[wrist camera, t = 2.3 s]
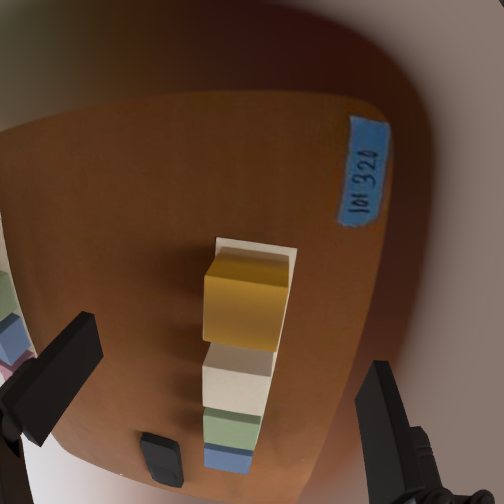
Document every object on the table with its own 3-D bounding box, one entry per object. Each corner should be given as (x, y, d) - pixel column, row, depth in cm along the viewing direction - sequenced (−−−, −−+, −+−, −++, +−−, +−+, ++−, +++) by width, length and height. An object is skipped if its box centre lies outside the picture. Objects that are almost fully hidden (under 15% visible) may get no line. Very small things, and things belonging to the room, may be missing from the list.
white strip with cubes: (216, 236, 19) (196, 265, 15) (297, 248, 19) (298, 280, 15) (209, 435, 28) (200, 467, 24) (256, 443, 28) (251, 476, 24)
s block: (221, 245, 19) (204, 275, 15) (289, 255, 19) (289, 288, 15) (218, 302, 21) (202, 340, 17) (279, 312, 21) (276, 353, 17)
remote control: (142, 427, 30) (155, 474, 36) (137, 437, 29) (151, 482, 34) (180, 438, 30) (184, 483, 35) (176, 449, 28) (181, 491, 34)
